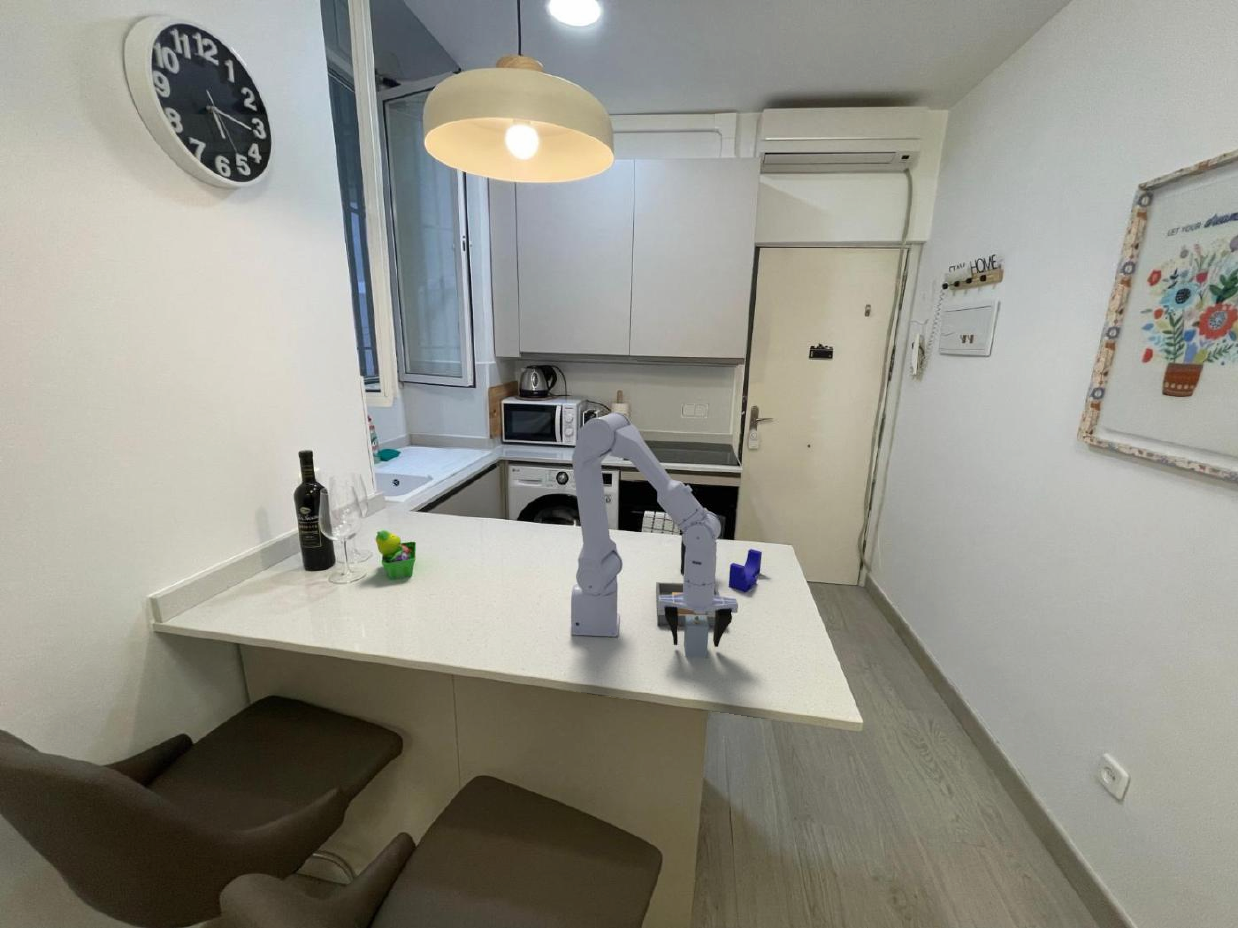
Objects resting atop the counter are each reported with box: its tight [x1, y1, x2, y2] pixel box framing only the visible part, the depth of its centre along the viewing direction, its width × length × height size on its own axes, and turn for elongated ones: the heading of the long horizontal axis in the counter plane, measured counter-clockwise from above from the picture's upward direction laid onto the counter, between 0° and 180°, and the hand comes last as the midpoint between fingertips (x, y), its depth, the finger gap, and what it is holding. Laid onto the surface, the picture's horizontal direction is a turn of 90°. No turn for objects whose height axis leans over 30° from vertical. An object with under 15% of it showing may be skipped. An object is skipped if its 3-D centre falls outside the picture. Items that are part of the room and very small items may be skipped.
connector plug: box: [683, 614, 710, 658], centre depth 94 cm, size 4×4×7 cm
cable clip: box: [728, 548, 763, 593], centre depth 122 cm, size 12×4×6 cm, turn 142°
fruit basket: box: [375, 529, 417, 580], centre depth 124 cm, size 11×9×11 cm
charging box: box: [655, 581, 721, 629], centre depth 109 cm, size 14×14×2 cm
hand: (695, 642), depth 94 cm, fingers open, 7 cm apart
